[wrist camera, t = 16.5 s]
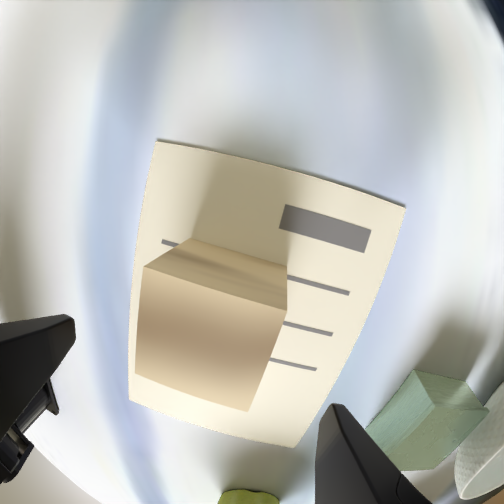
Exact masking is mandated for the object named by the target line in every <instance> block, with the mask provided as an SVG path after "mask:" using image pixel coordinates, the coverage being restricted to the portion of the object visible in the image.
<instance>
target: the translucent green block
mask: <svg viewBox="0 0 504 504" xmlns="http://www.w3.org/2000/svg"><path fill="white" fill-rule="evenodd" d="M489 412H490V411H489V410H488V408H487V407H483V406H482V404H481V403H480V401H479V400H478V398H477V397H476V396H475V394H474V393H473V391H472V390H471V388H470V387H469V386H468V384H467V383H466V382H465V381H462V380H457V379H453V378H448V377H444V376H440V375H435V374H431V373H427V372H423V371H419V370H415V369H413V370H412V372H411V373H410V375H409V376H408V377H407V379H406V380H405V381H404V383H403V384H402V385H401V387H400V388H399V389H398V391H397V392H396V393H395V394H394V396H393V397H392V398H391V400H390V401H389V402H388V403H387V404H386V406H385V407H384V408H383V409H382V410H381V412H380V413H379V414H378V415H377V416H376V417H375V419H374V420H373V421H372V422H371V423H370V424H369V425H368V426H367V427H366V429H365V431H366V432H367V433H368V434H369V436H370V437H371V438H372V439H373V440H374V441H375V443H376V444H377V445H378V446H379V447H380V448H381V450H382V451H383V452H384V453H385V454H386V455H387V457H388V458H389V459H390V460H391V461H392V462H393V464H394V465H395V466H396V467H397V468H398V469H399V470H400V471H412V470H429V469H434V468H435V467H436V466H437V465H438V464H440V463H441V462H442V461H443V460H444V459H445V458H446V457H447V456H448V455H449V454H451V453H452V452H453V451H454V450H455V449H456V448H457V447H458V446H459V445H460V444H461V443H462V442H463V441H464V440H465V439H466V438H467V437H468V436H469V435H470V434H471V432H472V431H473V430H474V429H475V428H476V427H477V426H478V425H479V424H480V422H481V421H482V420H483V419H484V418H485V417H486V415H487V414H488V413H489Z"/></svg>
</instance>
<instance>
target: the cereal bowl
mask: <svg viewBox="0 0 504 504" xmlns="http://www.w3.org/2000/svg"><path fill="white" fill-rule="evenodd" d="M484 407H487V408H488V410H489V411H490V412H489V413H488V414H487V415H486V417H485V418H484V419H483V420H482V421H481V422H480V424H479V425H478V426H477V427H476V428H475V429H474V430H473V431H472V432H471V434H470V435H469V436H468V437H467V438H466V439H465V440H464V441H463V442H462V443H461V444H460V447H459V449H458V452H457V455H456V460H455V466H454V470H455V471H454V473H455V474H454V475H455V481H456V486H457V490H458V493H459V496H460V498H462V499H472V498H475V497H478V496H481V495H483V494H485V493H488V492H490V491H492V490H493V489H495V488H497V487H499V486H501V485H502V484H504V381H503V382H502V383H501V384H500V385H499V387H498V388H497V389H496V390H495V392H494V393H493V394H492V395H491V397H490V398H489V400H488V401H487V403H486V404H485V406H484Z"/></svg>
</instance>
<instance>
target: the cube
mask: <svg viewBox="0 0 504 504" xmlns="http://www.w3.org/2000/svg"><path fill="white" fill-rule="evenodd" d="M286 314H287V266H284V265H281V264H277V263H274V262H270V261H267V260H264V259H260V258H257V257H253V256H250V255H246V254H243V253H240V252H236V251H233V250H229V249H226V248H222V247H219V246H216V245H212V244H209V243H205V242H202V241H199V240H195V239H192V238H189V239H187V240H186V241H184V242H182V243H181V244H179V245H177V246H176V247H174V248H172V249H171V250H169V251H167V252H166V253H164V254H162V255H161V256H159V257H158V258H156V259H154V260H153V261H151V262H149V263H148V264H146V265H145V266H143V273H142V281H141V290H140V299H139V310H138V321H137V335H136V354H135V374H138V375H140V376H142V377H145V378H147V379H149V380H152V381H154V382H157V383H159V384H162V385H164V386H167V387H170V388H172V389H175V390H178V391H180V392H183V393H186V394H189V395H192V396H195V397H198V398H201V399H204V400H207V401H210V402H213V403H216V404H220V405H223V406H227V407H230V408H234V409H237V410H241V411H245V412H248V411H249V409H250V406H251V404H252V401H253V399H254V397H255V394H256V392H257V389H258V387H259V384H260V382H261V379H262V377H263V374H264V372H265V369H266V367H267V364H268V362H269V359H270V356H271V354H272V351H273V349H274V346H275V343H276V341H277V338H278V335H279V333H280V330H281V327H282V325H283V322H284V319H285V316H286Z"/></svg>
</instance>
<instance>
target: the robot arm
mask: <svg viewBox="0 0 504 504" xmlns="http://www.w3.org/2000/svg"><path fill="white" fill-rule="evenodd" d="M75 340H76V333H75V321H74V319H73V318H72V317H70V316H68V315H66V314H61V315H55V316H48V317H42V318H35V319H29V320H22V321H15V322H8V323H1V324H0V484H1V483H2V482H4V483H7V482H9V481H11V480H12V479H13V478H14V477H15V476H16V475H17V474H18V473H19V471H20V469H21V468H22V466H23V464H24V462H25V461H26V459H27V457H28V456H29V454H30V452H31V451H32V449H33V447H34V445H33V444H32V443H31V442H30V441H29V440H28V439H27V438H26V437H25V436H24V435H23V433H24V432H25V431H26V430H27V429H28V428H29V427H30V426H31V425H32V424H33V423H34V421H35V420H36V419H37V418H38V417H39V416H40V415H41V414H42V413H43V412H44V411H45V410H46V409H47V410H49V411H50V412H51V413H53V414H54V415H58V413H59V411H58V408H57V405H56V402H55V399H54V395H53V392H52V389H51V385H50V381H49V378H50V377H51V376H52V374H53V373H54V372H55V370H56V369H57V368H58V366H59V365H60V363H61V362H62V360H63V359H64V357H65V356H66V354H67V353H68V351H69V350H70V348H71V347H72V346H73V344H74V342H75ZM315 504H432V503H431V502H430V501H429V500H428V499H427V498H426V497H424V496H423V495H422V494H421V493H420V492H419V491H418V490H417V489H416V488H415V487H414V486H413V485H412V484H411V483H410V482H409V480H408V479H407V478H406V477H405V476H404V475H403V474H401V472H400V470H399V469H398V468H397V467H396V466H395V465H394V464H393V462H392V461H391V460H390V459H389V458H388V457H387V455H386V454H385V453H384V452H383V451H382V450H381V448H380V447H379V446H378V445H377V444H376V443H375V441H374V440H373V439H372V438H371V437H370V436H369V434H368V433H367V432H366V431H365V430H364V429H363V427H362V426H361V425H360V424H359V423H358V421H357V420H356V419H355V418H354V417H353V415H352V414H351V413H350V412H349V411H348V409H347V408H346V407H345V406H344V405H342V404H336V403H332V404H330V405H329V407H328V409H327V410H326V412H325V413H324V415H323V417H322V418H321V420H320V423H319V431H318V441H317V451H316V460H315Z"/></svg>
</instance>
